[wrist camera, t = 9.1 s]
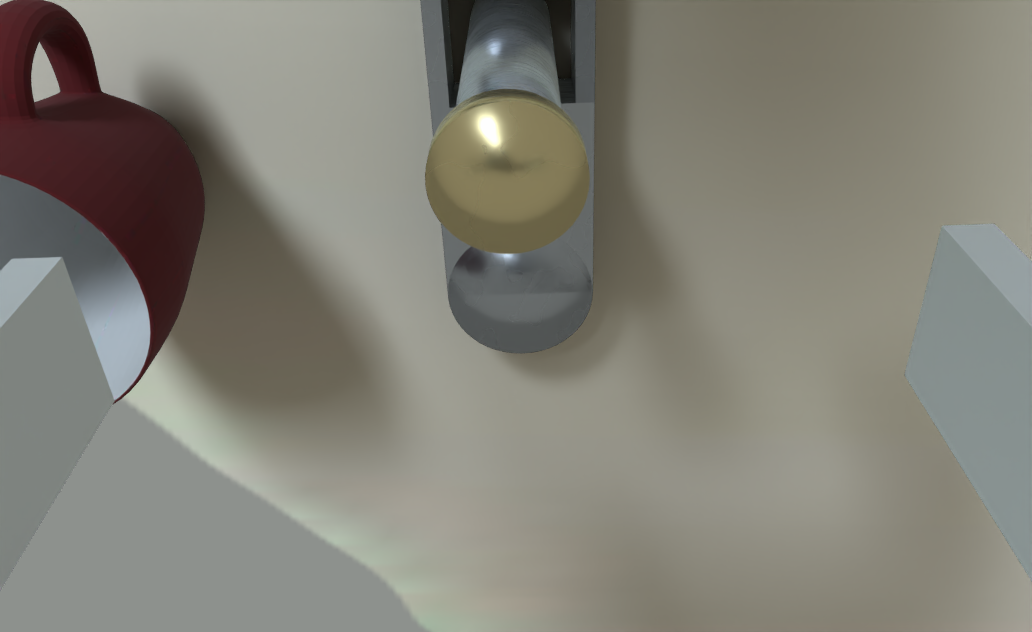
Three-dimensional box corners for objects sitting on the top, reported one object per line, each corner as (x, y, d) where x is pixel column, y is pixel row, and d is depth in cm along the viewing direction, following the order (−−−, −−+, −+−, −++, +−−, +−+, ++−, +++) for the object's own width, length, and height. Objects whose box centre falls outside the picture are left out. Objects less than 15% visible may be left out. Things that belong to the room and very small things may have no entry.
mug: (-55, -21, 28) (-295, 76, 20) (191, -48, 28) (51, 40, 19) (68, 265, 34) (-79, 435, 26) (273, 246, 34) (193, 412, 25)
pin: (454, -32, 28) (417, 105, 17) (560, -36, 28) (589, 98, 17) (462, 74, 30) (433, 257, 19) (562, 70, 30) (589, 250, 19)
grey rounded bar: (390, -435, 23) (377, -454, 21) (592, -445, 23) (600, -465, 21) (457, 319, 35) (453, 355, 33) (587, 314, 35) (592, 350, 33)
